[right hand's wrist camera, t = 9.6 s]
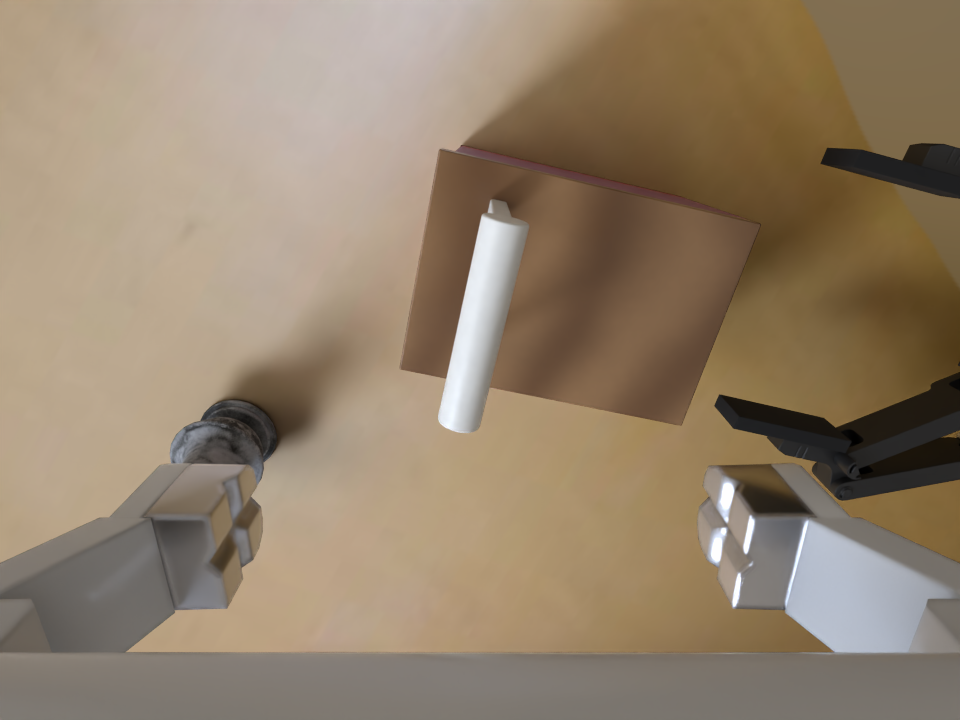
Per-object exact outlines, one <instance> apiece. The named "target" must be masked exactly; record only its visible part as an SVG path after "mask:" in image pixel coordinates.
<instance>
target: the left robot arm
mask: <svg viewBox="0 0 960 720" xmlns="http://www.w3.org/2000/svg"><path fill="white" fill-rule="evenodd" d="M821 164H823V165H827V166H831V167H834V168H838V169H842V170H846V171H849V172H853V173H857V174H860V175H864V176H868V177H872V178H875V179H879V180H883V181H887V182H890V183H894V184H898V185H902V186H905V187H909V188H913V189H917V190H920V191H924V192H928V193H931V194H935V195H939V196H945V197H952V198H959V199H960V148H956V147H953V146H949V145H946V144H926V143H921V144H914V145H910V146H909V148H908V150H907V152H906V154H905V156H904V158H903V160H898V159H894V158H890V157H887V156H883V155H879V154H876V153H872V152H868V151H865V150H858V149H839V148H827V150H826V152H825V154H824V157H823V159H822V161H821ZM958 366H960V362H959V364H958ZM715 407H716V408H717V410H718V411H719V412H720V413H721V414H722V415H723V417H724V418H725V419H726V420H727V421H728V422H729V424H730V425H731V426H732V427H733V428H734V429H738V430H743V431H747V432H752V433H756V434H761V435H765V436H767V438H768V439H769V440H770V441H771V442H772V443H773V445H774V446H775V447H776V448H777V449H778V450H779V451H781V452H782V453H783V454H785V455H788V456H793V457H797V458H802V459H806V460H811V461H816V463H815V464H814V466H813V468H812V472H813V474H814V475H815V476H816V477H817V478H818V479H819V480H820V481H821V482H822V483H823V484H824V485H825V486H826V487H827V489H828V490H829V491H830V492H831V493H832V494H833V495H834V496H835V497H836V498H837V499H839V500H850V499H856V498H861V497H866V496H872V495H877V494H883V493H888V492H894V491H899V490H905V489H910V488H916V487H921V486H927V485H932V484H938V483H943V482H949V481H954V480H959V479H960V432H959V433H958V434H957V438H952V437H945V438H940V437H943V436H946V435H948V434H951V433H953V432H956V431H959V430H960V372H959V373H956V374H954V375H951V376H949V377H946V378H944V379H941V380H939V381H936V382H934V383H932V384H931V389H930V390H929V391H927V392H924V393H922V394H919V395H917V396H914V397H912V398H909V399H907V400H904V401H902V402H899V403H897V404H894V405H892V406H889V407H887V408H884V409H882V410H879V411H877V412H874V413H872V414H869V415H867V416H864V417H862V418H859V419H857V420H854V421H852V422H849V423H847V424H844V425H842V426H839V427H836V428H835V427H834V426H833V425H832V424H830V423H829V422H828V421H827V420H826V419H824V418H821V417H817V416H813V415H808V414H804V413H799V412H795V411H791V410H786V409H782V408H777V407H773V406H768V405H764V404H760V403H755V402H751V401H746V400H742V399H737V398H733V397H729V396H724V395H720V394H719V396H718V399H717V401H716V403H715Z"/></svg>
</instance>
